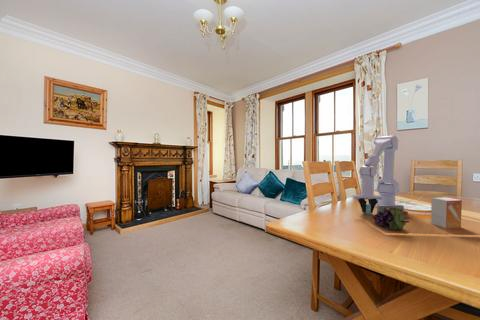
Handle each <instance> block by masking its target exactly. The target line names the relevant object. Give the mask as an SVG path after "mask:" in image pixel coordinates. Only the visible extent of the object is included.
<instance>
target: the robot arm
mask: <svg viewBox="0 0 480 320" xmlns="http://www.w3.org/2000/svg"><path fill="white" fill-rule="evenodd" d="M398 147H399V139H398V137H397V135H394V134H393V135H385V136H384V135H383V136H376V137H375V139H374V148H373V151H372V154H371V155H368V157H367V159H366V161H365V162H364V165H362V166H360V167H359V171H358V172H359V173H358V174H359V176H360V177H359V178H360V179H361V186H360V187H361V194H356V195H355V194H353V195H352V199H353V200H357V202H358V204H359V206H360V209H361V212H362V213H363V214H364V213H365V212H366V203H367V202H368V203H367V204H371V214H374V213H373V212H374V209H375V208H377V205H396V196H398V195H399V194H400V185H399V181H397V180H395V179H394V172H395V171H394V169H395V154H396V153H395V151H397V150H398ZM382 154H383V168H382V169H383V170H382V171H383V172H382V178H381V179H379V180H378V181H377V185H376V190H377V193H378V194H377V195H376V194H375V191H374V190H375V177H376V175H377V172H378V171H377V170H378V166H379V163H380V161H381V157H380V156H381V155H382ZM374 194H375V195H374ZM367 200H368V201H367Z"/></svg>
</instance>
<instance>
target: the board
mask: <svg viewBox="0 0 480 320" xmlns="http://www.w3.org/2000/svg"><path fill="white" fill-rule="evenodd" d="M376 206H377V207H376V214H377V213H378V212H382V213H383V212H384V211H385V208H399V209H402V210H404V211H405V209H404V208H405V206H404V205H401V204H399V205H398V204H395V205H377V204H376Z"/></svg>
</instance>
